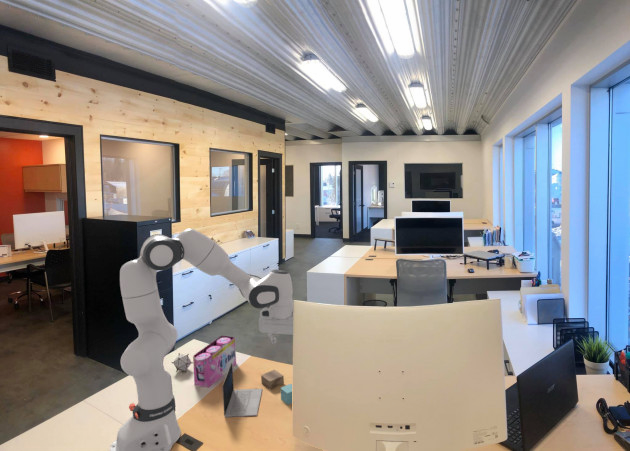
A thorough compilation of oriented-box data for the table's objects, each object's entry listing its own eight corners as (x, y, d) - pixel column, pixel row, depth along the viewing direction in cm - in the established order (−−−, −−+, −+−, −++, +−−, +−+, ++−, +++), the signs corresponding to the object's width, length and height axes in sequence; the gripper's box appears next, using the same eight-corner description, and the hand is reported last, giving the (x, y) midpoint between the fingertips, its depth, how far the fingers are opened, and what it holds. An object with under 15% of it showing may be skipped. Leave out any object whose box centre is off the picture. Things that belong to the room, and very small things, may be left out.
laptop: (257, 416, 145) (255, 384, 143) (223, 418, 145) (221, 386, 143) (262, 390, 163) (260, 361, 161) (232, 391, 163) (231, 362, 161)
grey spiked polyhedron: (180, 377, 182) (172, 357, 185) (197, 368, 184) (189, 349, 187) (174, 377, 174) (167, 356, 177) (192, 367, 176) (184, 347, 179)
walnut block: (270, 390, 163) (269, 381, 162) (261, 383, 168) (261, 375, 167) (283, 384, 167) (283, 375, 166) (274, 377, 172) (274, 369, 172)
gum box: (207, 389, 164) (205, 359, 162) (192, 386, 167) (189, 357, 165) (236, 363, 186) (235, 336, 184) (222, 361, 189) (221, 335, 187)
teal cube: (287, 405, 151) (287, 393, 151) (281, 399, 155) (280, 387, 155) (298, 400, 154) (297, 388, 154) (291, 394, 158) (290, 383, 158)
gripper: (310, 308, 150) (312, 342, 152) (262, 306, 156) (264, 338, 158) (305, 314, 144) (307, 349, 146) (255, 312, 150) (258, 345, 152)
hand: (285, 343), depth 152 cm, fingers open, 8 cm apart
